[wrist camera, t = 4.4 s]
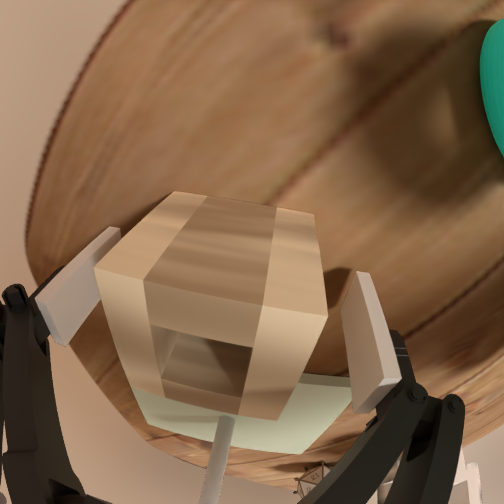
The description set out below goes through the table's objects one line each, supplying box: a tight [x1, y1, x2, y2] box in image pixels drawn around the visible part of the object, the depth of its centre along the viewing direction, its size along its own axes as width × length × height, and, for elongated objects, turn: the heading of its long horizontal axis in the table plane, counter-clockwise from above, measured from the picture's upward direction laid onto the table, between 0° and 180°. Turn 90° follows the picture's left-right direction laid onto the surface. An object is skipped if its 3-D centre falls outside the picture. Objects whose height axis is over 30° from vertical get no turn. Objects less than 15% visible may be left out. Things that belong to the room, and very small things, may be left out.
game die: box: [293, 461, 332, 498], centre depth 30 cm, size 9×8×10 cm
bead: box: [93, 191, 328, 421], centre depth 12 cm, size 7×7×7 cm
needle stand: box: [113, 340, 352, 504], centre depth 19 cm, size 18×20×12 cm
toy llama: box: [377, 446, 482, 504], centre depth 17 cm, size 8×18×20 cm, turn 62°
